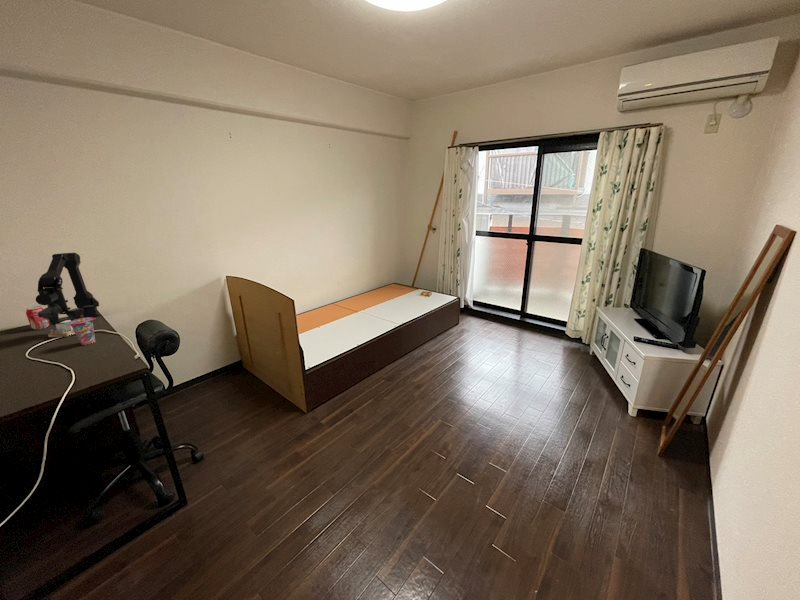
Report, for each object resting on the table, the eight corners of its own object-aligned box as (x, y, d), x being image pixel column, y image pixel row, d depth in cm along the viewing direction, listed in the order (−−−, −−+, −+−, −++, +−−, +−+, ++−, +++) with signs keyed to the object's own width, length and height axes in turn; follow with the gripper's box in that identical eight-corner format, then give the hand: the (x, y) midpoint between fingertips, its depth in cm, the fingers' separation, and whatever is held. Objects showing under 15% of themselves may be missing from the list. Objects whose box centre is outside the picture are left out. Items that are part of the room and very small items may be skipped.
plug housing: (69, 330, 175) (66, 319, 173) (78, 330, 175) (74, 319, 173) (58, 335, 169) (54, 323, 167) (67, 334, 169) (63, 323, 167)
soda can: (36, 327, 181) (28, 306, 178) (53, 324, 184) (45, 305, 181) (29, 331, 175) (21, 310, 172) (46, 328, 178) (38, 308, 175)
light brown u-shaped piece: (66, 330, 175) (63, 323, 174) (83, 329, 176) (81, 323, 174) (48, 337, 166) (45, 330, 165) (67, 336, 167) (64, 329, 165)
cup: (78, 348, 153) (70, 324, 149) (75, 343, 158) (67, 320, 154) (104, 341, 160) (96, 318, 156) (99, 337, 165) (92, 315, 161)
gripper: (21, 305, 159) (33, 334, 163) (60, 304, 159) (70, 333, 164) (44, 298, 169) (54, 326, 174) (80, 297, 170) (89, 325, 174)
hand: (66, 327), depth 171 cm, fingers open, 9 cm apart
